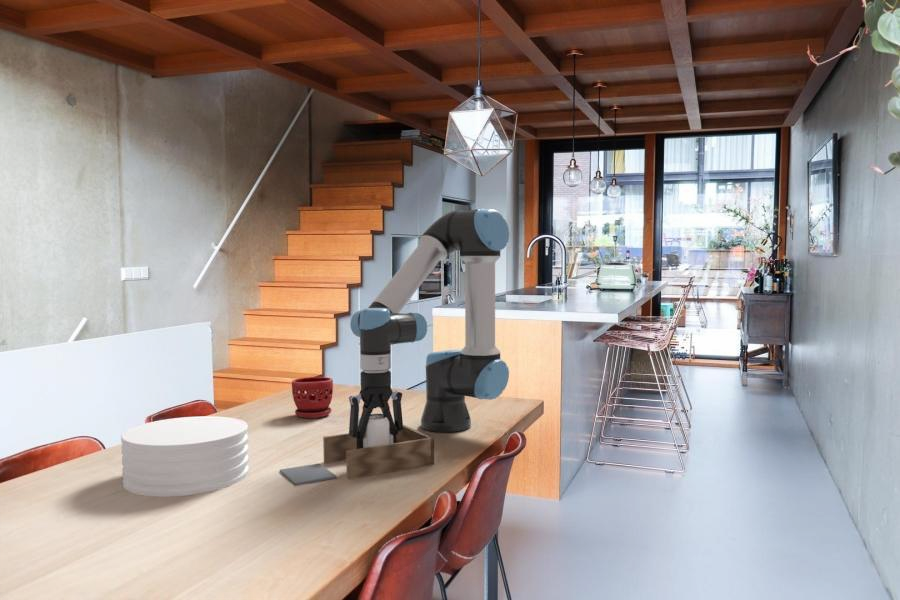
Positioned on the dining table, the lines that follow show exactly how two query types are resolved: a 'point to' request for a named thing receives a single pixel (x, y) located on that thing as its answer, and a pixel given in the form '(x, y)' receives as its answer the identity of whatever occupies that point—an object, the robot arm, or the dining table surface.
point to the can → (377, 430)
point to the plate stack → (184, 455)
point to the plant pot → (312, 396)
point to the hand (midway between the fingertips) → (376, 461)
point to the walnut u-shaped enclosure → (380, 453)
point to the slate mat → (307, 474)
